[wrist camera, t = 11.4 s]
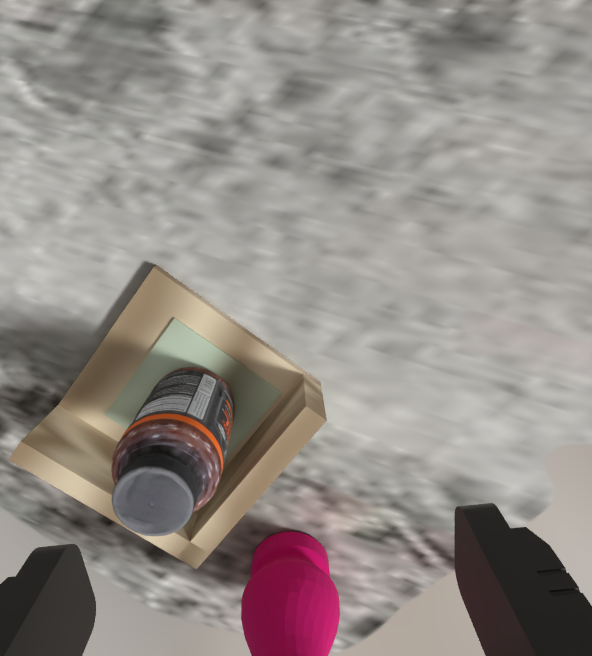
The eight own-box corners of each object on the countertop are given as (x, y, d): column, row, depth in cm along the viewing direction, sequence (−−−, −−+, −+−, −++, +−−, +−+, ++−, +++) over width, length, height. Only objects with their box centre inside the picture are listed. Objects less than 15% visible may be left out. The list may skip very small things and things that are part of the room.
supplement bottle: (235, 441, 35) (212, 558, 24) (153, 438, 35) (93, 554, 24) (237, 365, 33) (214, 454, 22) (150, 361, 33) (84, 449, 22)
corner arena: (52, 415, 35) (8, 459, 30) (156, 265, 32) (129, 282, 27) (209, 512, 38) (196, 569, 32) (320, 382, 35) (326, 420, 29)
